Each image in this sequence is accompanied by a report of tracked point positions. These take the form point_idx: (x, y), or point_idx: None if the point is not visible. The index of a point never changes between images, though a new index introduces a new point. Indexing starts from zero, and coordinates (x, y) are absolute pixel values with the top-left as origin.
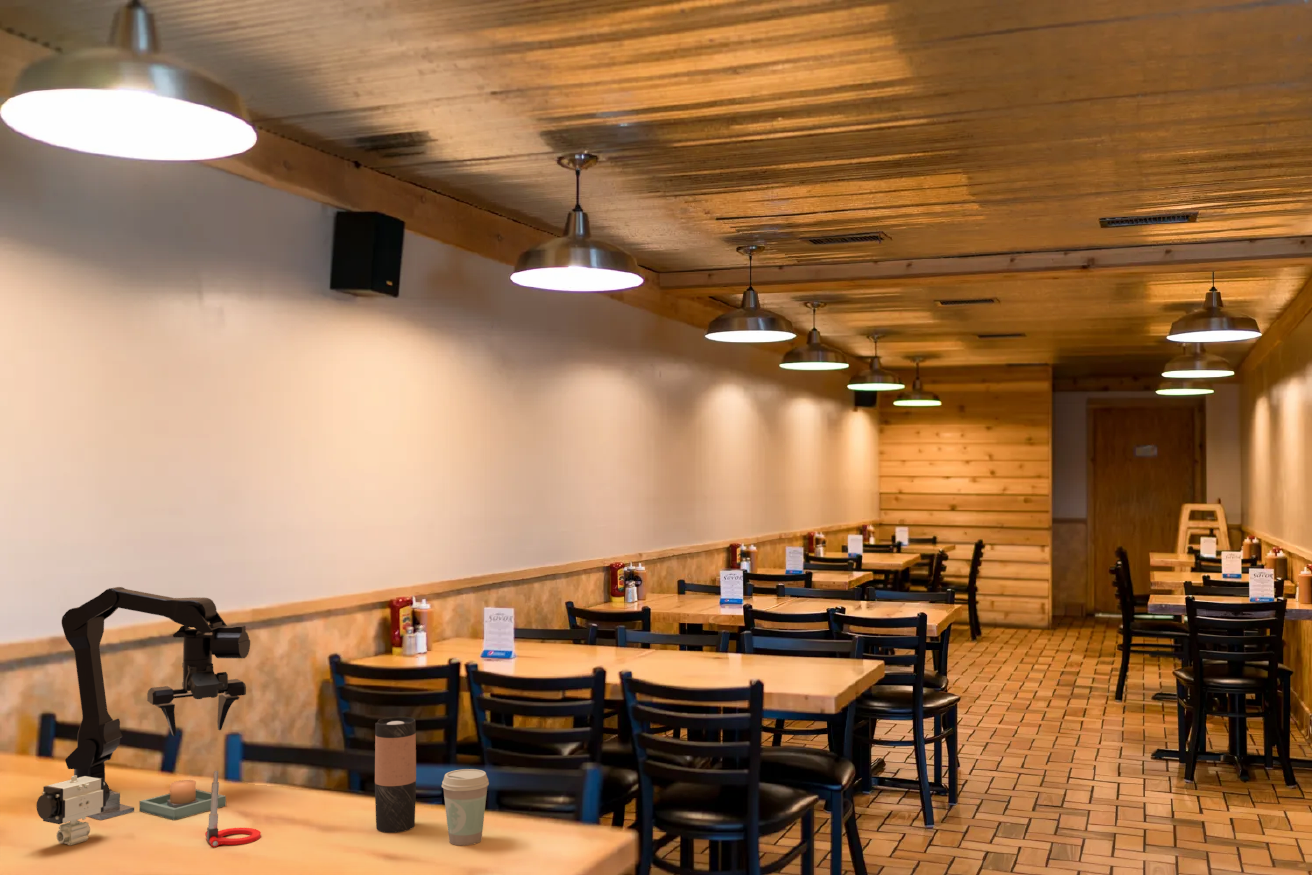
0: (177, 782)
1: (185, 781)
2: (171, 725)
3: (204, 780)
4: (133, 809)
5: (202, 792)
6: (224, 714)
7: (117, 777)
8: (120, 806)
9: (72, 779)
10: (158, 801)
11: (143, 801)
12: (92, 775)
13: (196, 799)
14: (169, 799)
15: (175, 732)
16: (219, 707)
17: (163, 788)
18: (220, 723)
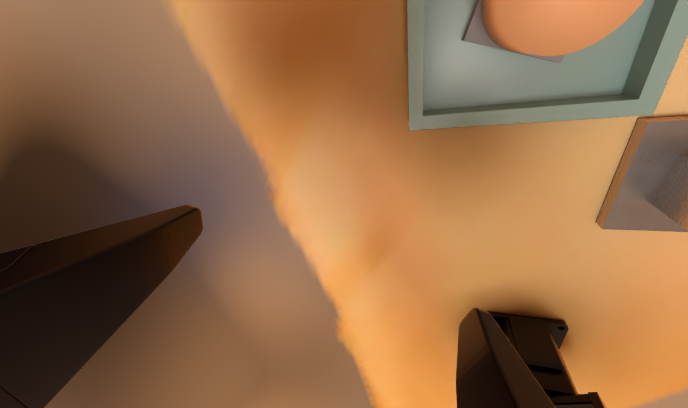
0: (576, 21)
1: (539, 4)
2: (550, 403)
3: (304, 234)
4: (646, 120)
5: (423, 32)
6: (45, 253)
7: (401, 361)
8: (649, 173)
9: None
10: (561, 101)
11: (656, 93)
12: (564, 367)
13: (438, 47)
14: (508, 105)
15: (484, 324)
16: (41, 370)
17: (397, 253)
18: (156, 225)
